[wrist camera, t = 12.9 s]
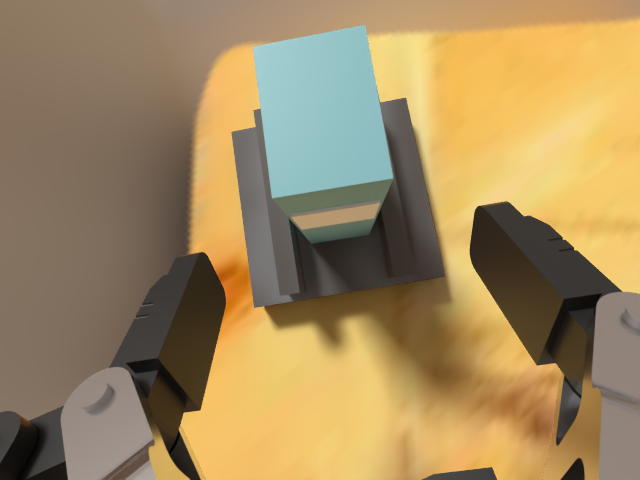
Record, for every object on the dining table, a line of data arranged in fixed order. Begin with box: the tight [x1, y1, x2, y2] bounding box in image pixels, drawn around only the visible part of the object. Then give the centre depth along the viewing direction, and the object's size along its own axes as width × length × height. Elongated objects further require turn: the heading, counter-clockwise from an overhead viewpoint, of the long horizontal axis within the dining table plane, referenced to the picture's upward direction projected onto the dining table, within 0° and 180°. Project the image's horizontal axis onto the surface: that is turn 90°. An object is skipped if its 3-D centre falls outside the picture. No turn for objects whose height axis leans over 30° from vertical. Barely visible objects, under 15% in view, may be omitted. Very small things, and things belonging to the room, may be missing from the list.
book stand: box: [232, 86, 445, 308], centre depth 22 cm, size 13×13×5 cm
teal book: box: [253, 25, 393, 244], centre depth 17 cm, size 4×6×12 cm
